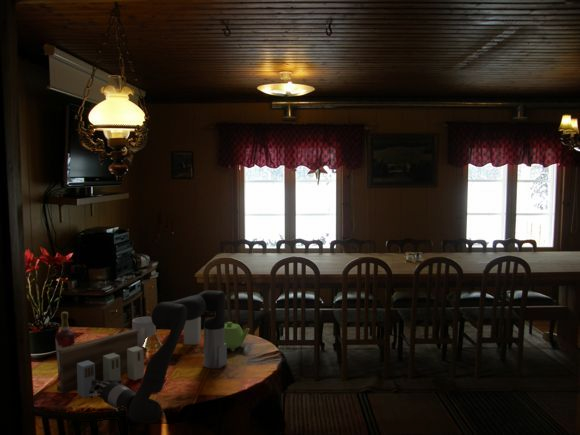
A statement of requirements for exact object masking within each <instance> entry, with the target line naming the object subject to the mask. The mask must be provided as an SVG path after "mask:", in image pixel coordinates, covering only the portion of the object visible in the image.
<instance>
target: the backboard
mask: <svg viewBox="0 0 580 435" xmlns="http://www.w3.org/2000/svg"><path fill="white" fill-rule="evenodd" d="M137 333H139V332H138V331H137V330H135V329H134V330H132V329H131V330H127V331H122V332H119V333H114V334H115V335H112V334H110V335H111V336H109V335H107V336H105V337H104V336H103V337H101V338H96V339H93V340H92V339H91V340H88V341H84V342H81V343H80V342H79V343H77V344H76V343H75V345H72V346H68V347H64V348H60V349H58V352H59V362H60V381H59V384H57V385H56V390H57V391H58V392H59V393H61V394H63V395H65V394H68V393H72V392H74V391H78V388H77V363H80V362H84V361H87V360H89V361H91V362H93V363H95V379H97V380H99V381H104V379H103V356H104V355H108V354H111V353H115V354H117V355H119V356H120V375H121V376H123V375H125V374H127V349H128V348H132V347H135V346H138V336H137Z"/></svg>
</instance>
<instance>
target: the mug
mask: <svg viewBox="0 0 580 435" xmlns="http://www.w3.org/2000/svg"><path fill="white" fill-rule="evenodd" d="M131 323H132V325H131V326H132V328H131V330H134V329H135V330H137V331H138V332H139V333H137V336H138V347H140V348H142V345H143V344H144V342H145V339H146V338H147V337H148V336H150V335H155V336H156V328H157V327H156V326H155V325H154V324H153V322H152V319H151V316H140V317H135V318H134V319H132V322H131Z"/></svg>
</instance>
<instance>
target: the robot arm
mask: <svg viewBox="0 0 580 435" xmlns="http://www.w3.org/2000/svg"><path fill="white" fill-rule="evenodd" d="M226 302H227V297H226V293H225V292H224V291H223V290H210V289H209V290H208V289H207V290H203V291H201V292H199V293H198V294H194V295H190V296H185V297H182V298H180V299H176V300H173V301H161V302H159V303H158V304H156V305H155V307H154V308H153V310H152V312H151V316H150V317H151V319H152V322H153V324H154V325H155V326H156V328H159V329H164V330H169V331H170V332H169V334H168V337H167V338H166V340H165V342H163V344H162V345H161V346H160V348H159V349H158V350H157V351H155V353H154V354H153V355H152V356H151V358H150V359H149V361H148V362H147V364H146V367H145V369H144V377H143V378H142V380H141V384H140V386H139V388H138V389H137V391H134V390H132V389H131V388H129V387H127V386H125V385H123V382H122V380H123V379H122V380H106V382H104V381H99V380H97V379H95V380H92V382H91V384H92V386H91V388H90V390H89V397H88V398H89V399H94V397H95V396H96V397H97V398H100V399H102V401H103V402H104V403H106V404H107V405H108V406H111V408H114V409H116V408H118V407H121V406H124V407H126V409H127V415H129V416H128V417H129V419H130V420H132V421H133V422H137V423H145V424H154V423H156V422H158V420H160V417H161V416H162V407H161V406H162V405H161V404H160V403H159V401H157V400H154V399H152V398H150V397H151V396H152V394H155V393H156V394H157V393H160V392H162V390H163V388H164V383H165V380H166V377H167V372H168V369H169V365H170V362H171V359H172V357H173V355H174V352H175V350H176V347H177V345H178V343H179V341H180V338H181V335H182V332H184V326H185V323H186V321H189V320H194V319H196V318H199V317H200V316H201V317H202V316H203V315H204V314H205V312H210V313H211V312H212V313H215V315H214V316H212V317H209V318H206V319H204V321H203V366H204V368H207V369H221V368H222V367H224V366H226V365H227V364H228V360H227V359H228V348H227V343H225V323H226V306H227V305H226Z"/></svg>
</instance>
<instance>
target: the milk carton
mask: <svg viewBox="0 0 580 435" xmlns="http://www.w3.org/2000/svg"><path fill="white" fill-rule="evenodd" d="M201 317H202V316H200V317H199V318H196V319H194V320H189V321H186V323H185V326H184V328H183V345H199V344H200V342H201V340H202V328H201V327H202V322H201V321H202V318H201Z"/></svg>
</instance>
